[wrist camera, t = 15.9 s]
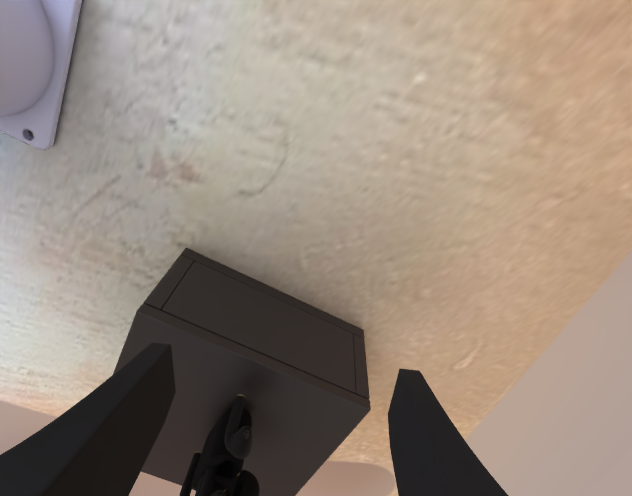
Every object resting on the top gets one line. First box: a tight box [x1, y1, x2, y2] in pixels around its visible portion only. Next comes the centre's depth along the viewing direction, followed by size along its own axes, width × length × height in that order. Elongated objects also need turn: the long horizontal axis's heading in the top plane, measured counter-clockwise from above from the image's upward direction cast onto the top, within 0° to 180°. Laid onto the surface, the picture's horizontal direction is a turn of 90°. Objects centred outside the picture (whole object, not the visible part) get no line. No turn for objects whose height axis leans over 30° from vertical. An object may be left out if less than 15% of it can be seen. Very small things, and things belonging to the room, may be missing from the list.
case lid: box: [113, 304, 371, 496], centre depth 20 cm, size 11×12×1 cm
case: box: [143, 248, 370, 400], centre depth 22 cm, size 10×12×5 cm
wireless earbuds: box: [180, 394, 260, 496], centre depth 17 cm, size 7×2×5 cm, turn 149°
